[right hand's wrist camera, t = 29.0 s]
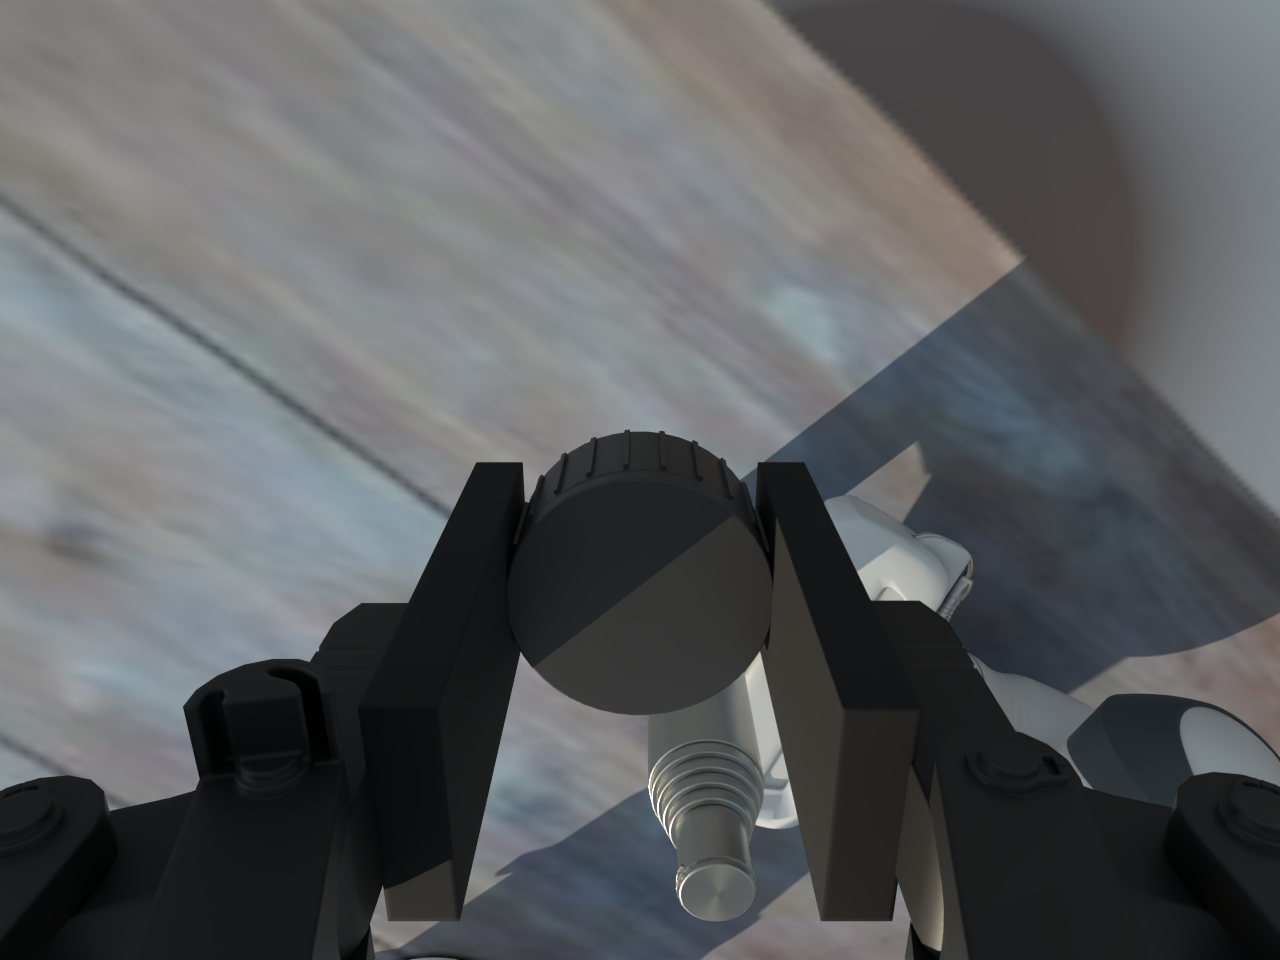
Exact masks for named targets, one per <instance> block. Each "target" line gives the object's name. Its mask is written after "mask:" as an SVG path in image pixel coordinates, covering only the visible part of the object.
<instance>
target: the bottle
mask: <svg viewBox="0 0 1280 960" xmlns="http://www.w3.org/2000/svg"><path fill="white" fill-rule="evenodd" d="M648 787H649V794H650V798H651V800H652V805H653V809H654V811H655V814H656V815H657V817H658V818H659V820H660V822H661V824H662V825H663V827H664V829H665V830H666V833H667V834H668V836H669V837H670V839H671V841H672V843H673V845H674V846H675V848H676V849H677V864H678V870H677V875H676V891H677V897H678V899H679V901H680V903H681V905H682V906H683V907H684V908H685V909H686V910H687V911H688V912H689V913H690V914H692V915H693V916H695V917H697V918H699V919H702V920H706V921H715V922H717V921H727V920H730V919H733V918H737V917H739V916H741V915H742V914H744V913H745V911H746V910H747V909H748V908H749V907H750V905H751V904H752V902H753V900H754V897H755V890H756V885H757V883H756V875H755V873H754V871H753V869H752V864H751V857H750V850H749V844H748V843H749V841H750V839H751V837H752V832H753V830H754V828H755V824H756V821H757V819H758V816H759V813H760V810H761V808H762V804H763V800H764V787H765V779H764V774H763V769H762V763H761V758H760V753H759V748H758V742H757V737H756V732H755V726H754V721H753V716H752V710H751V705H750V700H749V694H748V689H747V684H746V679H745V673H744V672H743V674H742V675H741V676H740V677H739V678H738V679H736V680H735V681H734V682H733V683H732V684H730V685H729V686H728V687H727V688H725V689H724V690H722V691H721V692H719V693H718V694H716V695H714V696H713V697H711V698H709V699H707V700H705V701H703V702H701V703H699V704H696V705H693V706H690V707H688V708H685V709H682V710H677V711H673V712H668V713H662V714H654V715H648Z"/></svg>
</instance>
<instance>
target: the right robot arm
mask: <svg viewBox="0 0 1280 960" xmlns="http://www.w3.org/2000/svg"><path fill="white" fill-rule="evenodd" d="M524 504H525V497H524V478H523V462H476V464H475V466H474V468H473V471H472V473H471V475H470V477H469V479H468V481H467V483H466V485H465V487H464V489H463V491H462V493H461V495H460V497H459V499H458V502H457V504H456V506H455V508H454V510H453V512H452V514H451V516H450V518H449V520H448V522H447V524H446V526H445V528H444V530H443V533H442V535H441V537H440V539H439V541H438V543H437V545H436V547H435V549H434V551H433V553H432V555H431V557H430V559H429V562H428V564H427V566H426V568H425V570H424V572H423V574H422V576H421V578H420V580H419V582H418V584H417V586H416V588H415V590H414V593H413V595H412V597H411V599H410V601H409V603H361V604H360V605H358V606H357V607H355V608H354V609H353V610H351V611H350V612H349V613H347V614H346V615H344V616H343V617H342V618H340V619H339V620H338V621H336V622H335V623H334V624H333V625H332V627H331V628H330V630H329V632H328V633H327V635H326V637H325V638H324V640H323V641H322V643H321V645H320V646H319V652H316V653H315V654H314V656H313V658H312V659H311V661H310V662H307V661H304V660H300V659H270V660H265V661H260V662H255V663H250V664H245V665H243V666H240V667H238V668H235V669H233V670H230V671H228V672H225V673H223V674H220V675H218V676H216V677H215V678H213V679H212V680H210V681H209V682H207V683H206V684H204V685H203V686H201V687H200V688H198V689H197V690H196V691H195V692H194V693H193V695H192V696H191V697H190V698H189V700H188V701H187V702H186V704H185V705H184V706H183V709H184V713H185V717H186V722H187V726H188V730H189V734H190V739H191V743H192V747H193V752H194V756H195V760H196V765H197V769H198V773H199V778H200V780H199V783H198V785H197V788H196V790H195V791H192V792H189V793H185V794H182V795H178V796H175V797H171V798H167V799H163V800H158V801H154V802H149V803H145V804H140V805H135V806H131V807H126V808H122V809H117V810H112V811H109V808H108V804H107V801H106V797H105V794H104V791H103V790H102V789H101V788H100V787H99V786H97V785H96V784H95V783H94V782H93V781H92V780H90V779H84V778H79V777H74V776H69V775H67V776H57V777H46V778H38V779H35V780H32V781H27V782H25V783H22V784H21V783H20V784H17V785H14V786H11V787H8V788H6V789H4V790H2V791H0V960H375V954H374V948H373V941H372V935H371V928H370V921H371V918H372V915H373V912H374V909H375V907H376V904H377V901H378V898H379V895H380V892H381V889H382V886H383V888H384V895H385V902H386V909H387V916H388V921H460V917H461V912H462V908H463V903H464V899H465V895H466V890H467V886H468V881H469V877H470V873H471V868H472V864H473V859H474V855H475V850H476V846H477V842H478V837H479V833H480V828H481V824H482V820H483V815H484V811H485V806H486V802H487V797H488V793H489V789H490V784H491V780H492V775H493V771H494V766H495V762H496V758H497V753H498V749H499V744H500V740H501V736H502V731H503V727H504V722H505V718H506V713H507V709H508V705H509V700H510V696H511V691H512V687H513V683H514V678H515V674H516V669H517V665H518V660H519V656H520V652H521V651H520V649H519V647H518V645H517V644H516V642H515V639H514V637H513V634H512V632H511V629H510V620H509V605H508V588H507V575H508V571H509V567H510V563H511V560H512V557H513V553H514V550H515V548H512V547H511V546H512V542H513V539H514V536H515V533H516V529H517V526H518V523H519V520H520V516H521V513H522V510H523V507H524ZM757 509H758V512H759V515H760V518H761V522H762V525H763V528H764V531H765V535H766V538H767V541H768V545H769V548H770V556H768V559H769V562H770V566H771V570H772V574H773V599H772V614H771V627H770V630H769V632H768V635H767V638H766V640H765V642H764V644H763V646H762V648H761V650H760V654H761V658H762V662H763V667H764V671H765V676H766V680H767V684H768V689H769V693H770V698H771V702H772V707H773V711H774V715H775V720H776V724H777V729H778V733H779V737H780V742H781V746H782V751H783V755H784V760H785V764H786V768H787V773H788V777H789V782H790V786H791V790H792V795H793V799H794V804H795V808H796V813H797V817H798V821H799V826H800V830H801V835H802V839H803V844H804V848H805V852H806V857H807V861H808V866H809V870H810V874H811V879H812V883H813V888H814V892H815V897H816V901H817V905H818V910H819V914H820V919H821V921H892V920H893V913H894V906H895V899H896V892H897V885H898V883H899V886H900V889H901V892H902V895H903V897H904V900H905V903H906V906H907V909H908V912H909V915H910V918H911V922H910V928H909V935H908V941H907V948H906V954H905V960H1280V786H1278V785H1276V784H1273V783H1270V782H1267V781H1264V780H1259V779H1257V778H1253V777H1249V776H1246V775H1242V774H1232V773H1221V772H1209V773H1204V774H1199V775H1194V776H1190V777H1189V778H1188V779H1187V780H1186V781H1185V782H1184V783H1182V784H1181V785H1180V786H1179V787H1178V789H1177V793H1176V796H1175V800H1174V803H1173V807H1172V808H1171V807H1167V806H1162V805H1157V804H1153V803H1148V802H1144V801H1139V800H1134V799H1130V798H1125V797H1121V796H1116V795H1112V794H1108V793H1105V792H1101V791H1098V790H1094V789H1091V788H1088V787H1085V786H1083V784H1082V781H1081V778H1080V777H1079V775H1078V774H1077V772H1076V771H1075V769H1074V768H1073V766H1072V765H1071V764H1070V762H1069V761H1068V760H1067V759H1066V758H1065V757H1064V756H1062V755H1061V754H1060V753H1058V752H1057V751H1056V750H1055V749H1053V748H1052V747H1051V746H1049V745H1048V744H1046V743H1044V742H1042V741H1040V740H1037V739H1035V738H1033V737H1031V736H1029V735H1026V734H1024V733H1022V732H1017V731H1015V729H1014V727H1013V726H1012V724H1011V723H1010V721H1009V719H1008V718H1007V716H1006V715H1005V713H1004V711H1003V710H1002V708H1001V706H1000V705H999V703H998V702H997V700H996V698H995V697H994V695H993V693H992V692H991V690H990V689H989V687H988V685H987V684H986V682H985V681H984V679H983V677H982V676H981V674H980V672H979V671H978V669H977V668H974V663H973V661H972V660H971V658H970V656H969V655H968V653H967V651H966V650H965V649H962V643H961V642H960V640H959V638H958V637H957V635H956V634H955V632H954V630H953V629H952V627H951V626H950V624H949V622H948V621H947V620H946V619H945V618H943V617H942V616H940V615H939V614H938V613H936V612H935V611H933V610H932V609H931V608H929V607H928V606H927V605H925V604H924V603H922V602H921V601H920V600H870V597H869V595H868V593H867V591H866V589H865V587H864V585H863V583H862V581H861V579H860V577H859V575H858V573H857V571H856V569H855V566H854V564H853V562H852V560H851V558H850V556H849V554H848V552H847V550H846V548H845V546H844V544H843V542H842V540H841V538H840V535H839V533H838V531H837V529H836V527H835V525H834V523H833V521H832V519H831V517H830V515H829V513H828V511H827V509H826V506H825V504H824V502H823V500H822V498H821V496H820V494H819V492H818V490H817V488H816V486H815V484H814V482H813V480H812V478H811V475H810V473H809V471H808V469H807V467H806V465H805V463H804V462H758V470H757V489H756V508H755V510H757Z"/></svg>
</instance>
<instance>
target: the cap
mask: <svg viewBox="0 0 1280 960" xmlns="http://www.w3.org/2000/svg"><path fill="white" fill-rule="evenodd" d="M511 547H512V548H515V550H514V553H513V557H512V560H511V563H510V567H509V571H508V575H507V588H508V605H509V620H510V629H511V632H512V634H513V637H514V639H515V642H516V644H517V645H518V647H519V649H520V651H521V653H522V654H523V656H524V657H525V659H526V660H527V661H528V663H529V664H530V665H531V667H532V668H533V669H534V670H535V671H536V672H537V673H538V674H539V675H540V676H541V677H542V678H543V679H544V680H545V681H546V682H547V683H549V684H550V685H551V686H552V687H554V688H555V689H556V690H558V691H560V692H561V693H563V694H564V695H566V696H568V697H569V698H571V699H573V700H576V701H578V702H580V703H582V704H584V705H587V706H590V707H593V708H596V709H599V710H603V711H608V712H612V713H618V714H627V715H654V714H662V713H668V712H673V711H677V710H682V709H685V708H688V707H690V706H693V705H696V704H699V703H701V702H703V701H705V700H707V699H709V698H711V697H713V696H714V695H716V694H718V693H719V692H721V691H722V690H724V689H725V688H727V687H728V686H729V685H730V684H732V683H733V682H734V681H735V680H736V679H738V678H739V677H740V676H741V675H742V674H743V672H744V671H745V670H746V669H747V668H748V667H749V666H750V665H751V663H752V662H753V660H754V659H755V658H756V656H757V655H758V653H759V652H760V650H761V648H762V646H763V644H764V642H765V640H766V638H767V635H768V632H769V630H770V627H771V614H772V599H773V574H772V570H771V566H770V562H769V559H768V556H770V548H769V545H768V541H767V538H766V535H765V531H764V528H763V525H762V522H761V518H760V515H759V512H758V509H757V510H754V508H753V505H752V502H751V499H750V495H749V492H748V489H747V485H746V483H745V482H742V483H741V482H740V481H739V479H738V478H737V477H736V476H735V474H734V473H733V472H732V470H731V469H729V468H728V467H727V465H726V461H725V460H724V459H723V458H721V459H719V458H717V457H716V456H714V455H713V454H712V453H710V452H709V451H707V450H706V449H704V448H702V447H700V446H698V442H696V441H694V440H693V441H692V442H690V441H687V440H684V439H682V438H679V437H675V436H671V435H667V434H665V432H664V431H659V433H654V432H630V430H625V432H624V433H618V434H613V435H609V436H605V437H602V438H598V439H596V437H594V438H591V442H588V443H586V444H584V445H582V446H580V447H578V448H577V449H575V450H573V451H571V452H570V453H569V454H566V452H565V453H564V454H562V455H561V460H559V461H558V462H557V463H556V464H555V465H554V466H553V467H552V468H551V469H550V470H549V471H548V472H547V473H546V475H545V476H543V475H541V476H540V477H539V479H538V482H537V486H536V489H535V491H534V493H533V495H532V496H531V499H530V502H529V503H527V502H525V504H524V507H523V510H522V513H521V516H520V520H519V523H518V526H517V529H516V533H515V536H514V539H513V542H512V546H511Z"/></svg>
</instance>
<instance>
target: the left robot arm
mask: <svg viewBox="0 0 1280 960" xmlns="http://www.w3.org/2000/svg"><path fill="white" fill-rule="evenodd" d="M824 504H825V506H826V509H827V511H828V513H829V515H830V517H831V519H832V521H833V523H834V525H835V527H836V529H837V531H838V533H839V535H840V538H841V540H842V542H843V544H844V546H845V548H846V550H847V552H848V554H849V556H850V558H851V560H852V562H853V564H854V566H855V569H856V571H857V573H858V575H859V577H860V579H861V581H862V583H863V585H864V587H865V589H866V591H867V593H868V595H869V597H870V600H920V601H921V602H922V603H924V604H925V605H927V606H928V607H929V608H931V609H932V610H933V611H935V612H936V613H938V614H939V615H940V616H942V617H943V618H945V619H946V620H947V621H948V622H950V620H951V618H952V616H953V614H954V612H955V610H956V608H957V607H958V605H959V604H960V602H961V601H963V600H964V599H965V598H966V597H967V595H968V594H969V592H970V591H971V589H972V587H973V584H974V579H973V578H972V577H971V575H972V572H973V568H974V562H973V557H972V555H971V553H970V551H969V550H968V549H967V548H966V547H965V546H964V545H963V544H961V543H959V542H957V541H955V540H952V539H950V538H948V537H945V536H943V535H941V534H938V533H933V532H922V533H918V534H916V533H915V532H914V531H913V530H911V529H910V528H908V527H907V526H905V525H904V524H902V523H901V522H899V521H898V520H896V519H895V518H893V517H892V516H890V515H888V514H887V513H885V512H883V511H882V510H880V509H878V508H876V507H874V506H873V505H871V504H869V503H867V502H865V501H863V500H861V499H859V498H857V497H855V496H852V495H843V496H838V497H833V498H829V499H827V500H826V501H825V502H824ZM965 567H966V568H965ZM964 568H965V571H964V572H962V571H963V570H964ZM967 653H968V652H967ZM968 655H969V656H970V658H971V660H972V661H973V663H974V668H977V669H978V671H979V672H980V674H981V676H982V677H983V679H984V681H985V682H986V684H987V685H988V687H989V689H990V690H991V692H992V693H993V695H994V697H995V698H996V700H997V702H998V703H999V705H1000V706H1001V708H1002V710H1003V711H1004V713H1005V715H1006V716H1007V718H1008V719H1009V721H1010V723H1011V724H1012V726H1013V727H1014V729H1015V731H1017V732H1022V733H1024V734H1026V735H1029V736H1031V737H1033V738H1035V739H1037V740H1040V741H1042V742H1044V743H1046V744H1048V745H1049V746H1051V747H1052V748H1053V749H1055V750H1056V751H1057V752H1058V753H1060V754H1061V755H1062V756H1064V757H1065V758H1066V759H1067V760H1068V761H1069V762H1070V764H1071V765H1072V766H1073V768H1074V769H1075V771H1076V772H1077V774H1078V775H1079V777H1080V778H1081V781H1082V784H1083V786H1085V787H1088V788H1091V789H1094V790H1098V791H1101V792H1105V793H1108V794H1112V795H1116V796H1121V797H1125V798H1130V799H1134V800H1139V801H1144V802H1148V803H1153V804H1157V805H1162V806H1167V807H1171V808H1172V807H1173V803H1174V800H1175V796H1176V793H1177V789H1178V787H1179V786H1180V785H1181V784H1182V783H1184V782H1185V781H1186V780H1187V779H1188V778H1189V777H1190V776H1194V775H1199V774H1204V773H1209V772H1221V773H1232V774H1242V775H1246V776H1249V777H1253V778H1257V779H1259V780H1264V781H1267V782H1270V783H1273V784H1276V785H1278V786H1280V757H1279V756H1278V755H1277V753H1276V752H1275V751H1274V750H1273V749H1272V748H1271V747H1270V746H1269V744H1268V743H1267V742H1266V741H1265V740H1264V739H1263V738H1262V737H1261V736H1260V735H1258V734H1257V733H1256V732H1255V731H1254V730H1253V729H1252V728H1250V727H1249V726H1248V725H1247V724H1246V723H1244V722H1243V721H1241V720H1240V719H1239V718H1237V717H1236V716H1234V715H1233V714H1231V713H1229V712H1228V711H1226V710H1224V709H1222V708H1220V707H1217V706H1215V705H1212V704H1209V703H1205V702H1201V701H1197V700H1193V699H1188V698H1182V697H1176V696H1169V695H1158V694H1116V695H1113V696H1110V697H1108V698H1107V699H1106V700H1105V701H1104V702H1103V703H1102V704H1101V705H1100V706H1099V707H1098V708H1097V709H1094V708H1092V707H1090V706H1089V705H1087V704H1085V703H1083V702H1081V701H1079V700H1077V699H1075V698H1073V697H1071V696H1069V695H1067V694H1065V693H1063V692H1061V691H1059V690H1056V689H1054V688H1052V687H1050V686H1047V685H1045V684H1043V683H1040V682H1038V681H1036V680H1033V679H1031V678H1028V677H1025V676H1022V675H1017V674H1006V673H999V672H996V671H994V670H992V669H990V668H989V667H988V666H986V665H985V664H984V663H983V662H982V661H981V660H979V659H978V658H976V657H975V656H974V655H972V654H970V653H968ZM744 673H745V679H746V684H747V689H748V694H749V700H750V705H751V710H752V716H753V721H754V726H755V732H756V737H757V742H758V748H759V753H760V758H761V763H762V769H763V774H764V779H765V787H764V800H763V804H762V808H761V810H760V813H759V816H758V819H757V821H756V824H755V825H757V826H761V827H766V828H773V829H786V828H791V827H795V826H797V825H799V821H798V817H797V813H796V808H795V804H794V799H793V795H792V790H791V786H790V782H789V777H788V773H787V768H786V764H785V760H784V755H783V751H782V746H781V742H780V737H779V733H778V729H777V724H776V720H775V715H774V711H773V707H772V702H771V698H770V693H769V689H768V684H767V680H766V676H765V671H764V667H763V662H762V658H761V654H760V652H759V653H758V655H757V656H756V658H755V659H754V660H753V662H752V663H751V665H750V666H749V667H748V668H747V669H746V670H745V671H744ZM411 960H457V959H450V958H437V957H430V958H417V959H411Z"/></svg>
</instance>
